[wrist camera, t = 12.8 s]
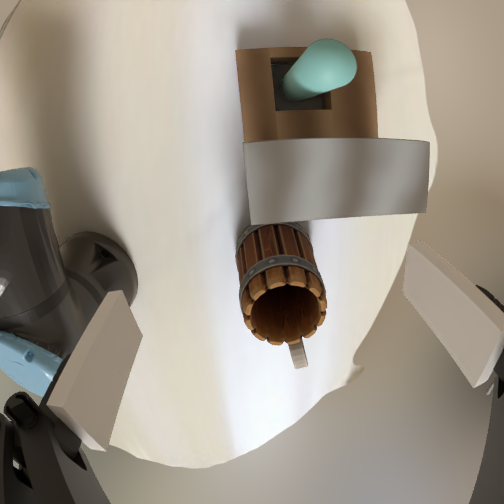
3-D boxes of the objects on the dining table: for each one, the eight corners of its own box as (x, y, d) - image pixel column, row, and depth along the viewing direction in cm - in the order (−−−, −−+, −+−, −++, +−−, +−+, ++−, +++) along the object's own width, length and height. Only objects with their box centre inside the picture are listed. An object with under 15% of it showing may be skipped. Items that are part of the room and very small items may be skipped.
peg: (281, 102, 32) (307, 86, 18) (278, 72, 31) (301, 37, 16) (312, 101, 32) (359, 88, 18) (309, 72, 30) (353, 40, 16)
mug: (225, 226, 39) (214, 285, 26) (301, 205, 38) (330, 253, 24) (257, 315, 46) (261, 389, 32) (321, 298, 44) (347, 367, 31)
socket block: (249, 185, 37) (250, 225, 23) (236, 58, 30) (230, 16, 16) (366, 178, 36) (425, 212, 23) (359, 58, 29) (419, 30, 15)
